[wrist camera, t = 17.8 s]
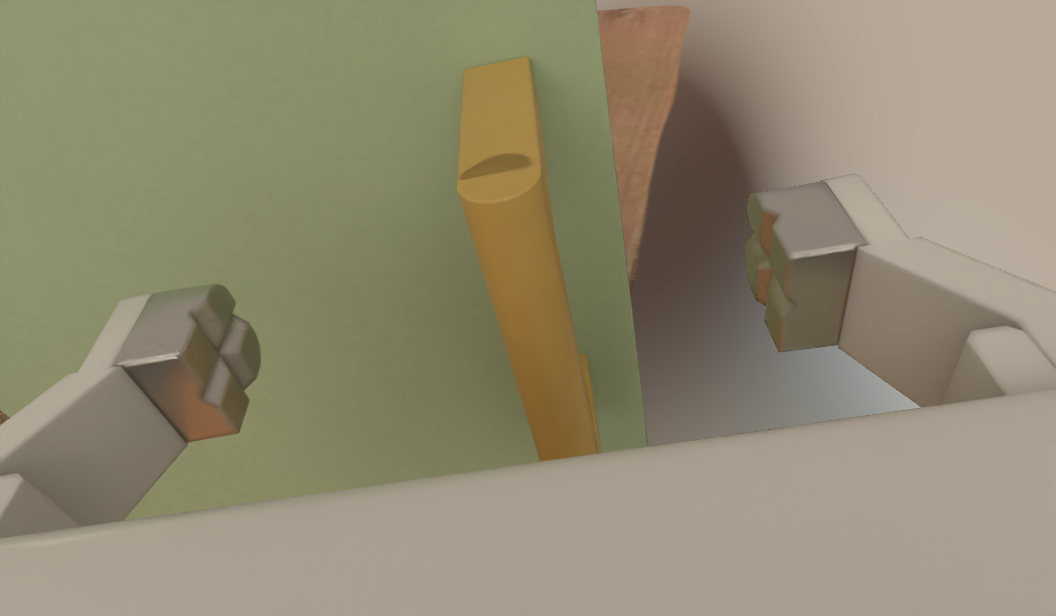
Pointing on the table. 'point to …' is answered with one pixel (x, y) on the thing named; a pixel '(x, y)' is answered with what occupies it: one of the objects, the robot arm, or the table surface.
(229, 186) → the cupboard door
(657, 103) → the table surface
